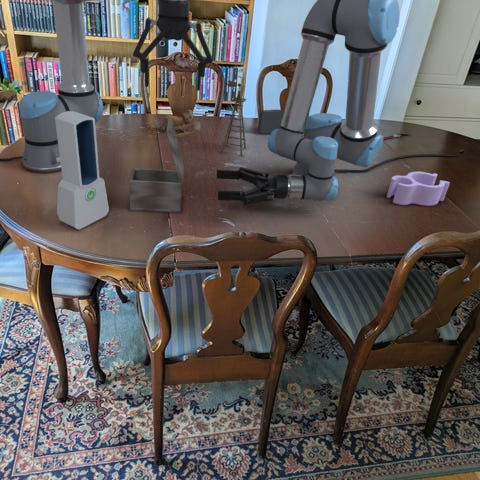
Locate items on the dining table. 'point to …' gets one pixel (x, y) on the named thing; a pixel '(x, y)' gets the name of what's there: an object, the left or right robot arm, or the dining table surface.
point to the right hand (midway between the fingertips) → (217, 184)
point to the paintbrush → (393, 136)
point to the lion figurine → (179, 119)
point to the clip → (417, 189)
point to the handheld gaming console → (270, 121)
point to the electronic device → (79, 171)
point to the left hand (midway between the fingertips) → (172, 87)
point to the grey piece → (175, 147)
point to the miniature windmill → (238, 100)
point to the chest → (155, 190)
